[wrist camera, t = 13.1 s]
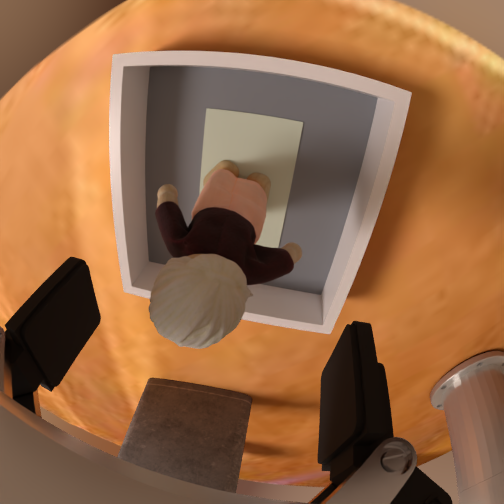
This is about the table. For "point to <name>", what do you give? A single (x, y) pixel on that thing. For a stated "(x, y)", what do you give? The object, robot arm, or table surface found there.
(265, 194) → the grandmother figurine
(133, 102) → the shadow box frame
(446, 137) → the table surface
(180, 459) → the flask
